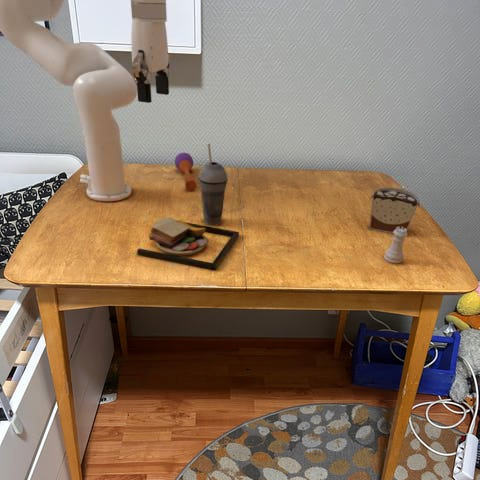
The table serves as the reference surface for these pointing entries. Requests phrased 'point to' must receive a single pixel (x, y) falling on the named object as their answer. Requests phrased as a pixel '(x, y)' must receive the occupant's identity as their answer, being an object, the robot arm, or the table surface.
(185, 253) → the toy sandwich meal
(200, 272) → the table surface
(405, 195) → the food container
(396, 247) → the rook chess piece
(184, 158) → the purple maraca
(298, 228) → the table surface
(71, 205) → the table surface
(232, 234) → the frame
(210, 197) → the beverage cup
